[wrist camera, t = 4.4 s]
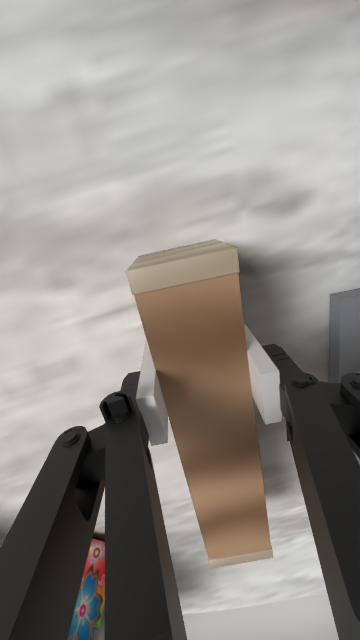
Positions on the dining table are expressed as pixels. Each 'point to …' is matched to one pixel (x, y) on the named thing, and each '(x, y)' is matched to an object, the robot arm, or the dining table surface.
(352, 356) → the grey base plate
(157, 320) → the beam
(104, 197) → the dining table surface
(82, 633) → the mug
